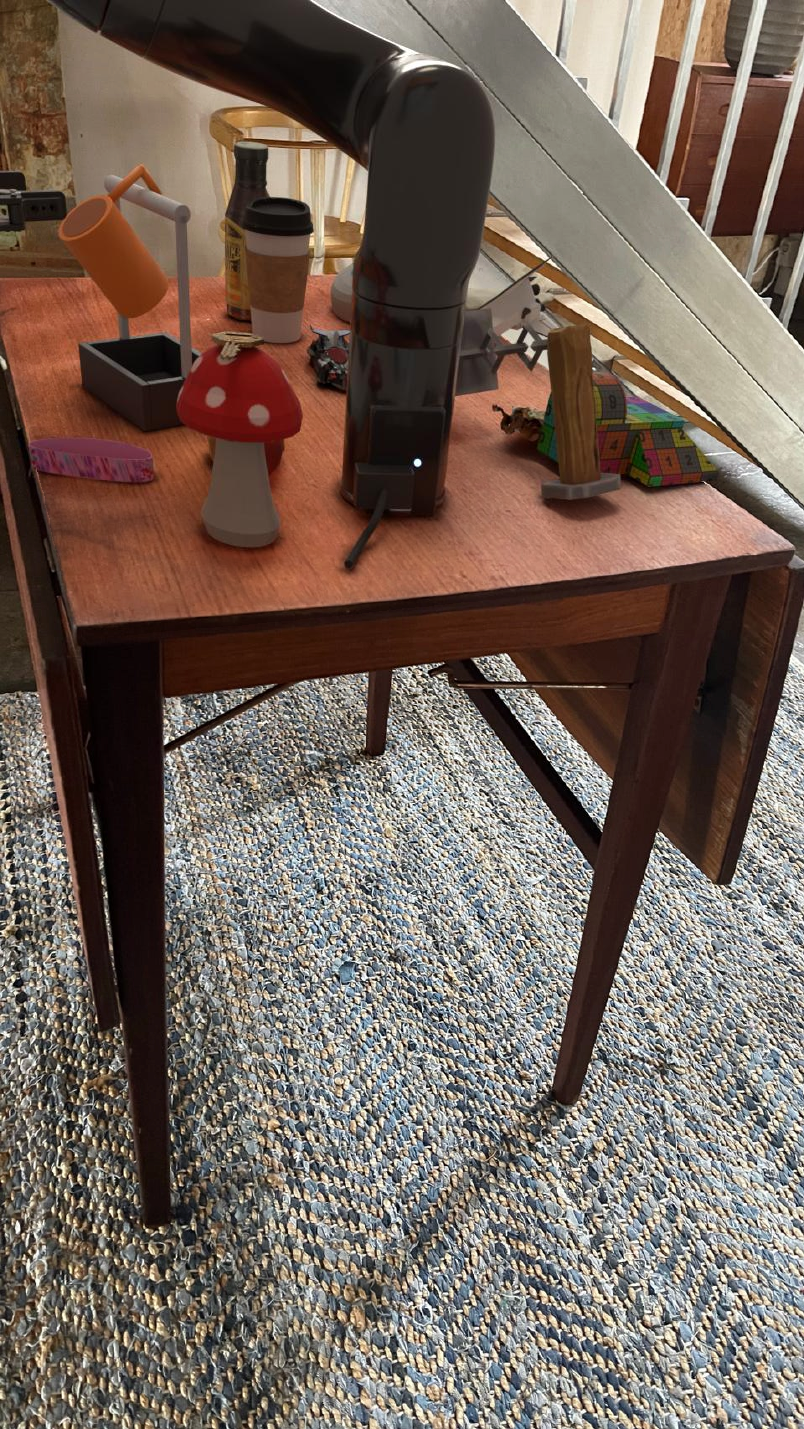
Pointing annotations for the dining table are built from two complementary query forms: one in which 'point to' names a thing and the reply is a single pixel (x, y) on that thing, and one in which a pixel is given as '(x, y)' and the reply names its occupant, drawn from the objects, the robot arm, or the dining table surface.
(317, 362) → the toy car
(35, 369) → the dining table surface
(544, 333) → the space shuttle model
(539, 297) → the arrowhead
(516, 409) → the brown crumpled lump
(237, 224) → the sauce bottle
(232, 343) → the key
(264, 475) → the decorative mushroom
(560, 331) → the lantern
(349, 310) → the decorative stone
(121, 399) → the basket
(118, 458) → the headband
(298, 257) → the coffee cup
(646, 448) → the building blocks
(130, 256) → the orange mug
